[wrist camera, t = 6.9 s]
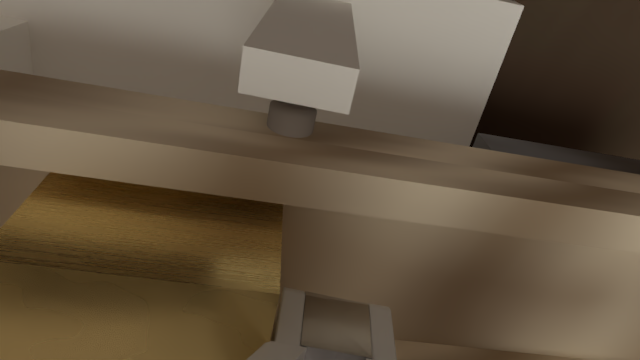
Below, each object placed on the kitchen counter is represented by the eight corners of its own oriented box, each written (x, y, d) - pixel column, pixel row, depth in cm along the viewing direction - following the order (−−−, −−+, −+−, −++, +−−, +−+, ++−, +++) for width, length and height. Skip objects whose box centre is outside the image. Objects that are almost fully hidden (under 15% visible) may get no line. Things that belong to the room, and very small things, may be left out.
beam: (705, 141, 16) (854, 230, 11) (589, 317, 19) (669, 430, 15) (-251, -30, 12) (-544, 9, 8) (-156, 231, 16) (-317, 350, 12)
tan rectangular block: (283, 190, 11) (279, 294, 8) (259, 315, 14) (249, 435, 11) (62, 157, 11) (-28, 259, 8) (73, 295, 13) (5, 417, 10)
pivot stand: (515, 1, 17) (654, 75, 10) (411, 273, 24) (445, 448, 16) (-29, -120, 16) (-365, -144, 8) (15, 203, 22) (-152, 356, 15)
